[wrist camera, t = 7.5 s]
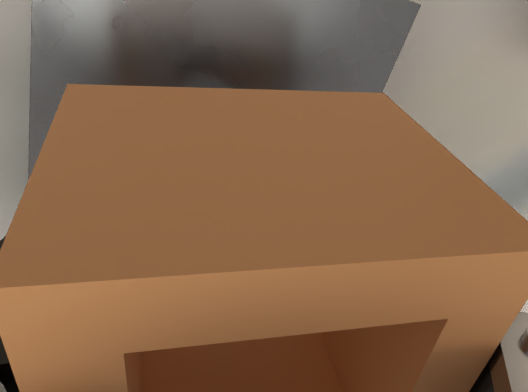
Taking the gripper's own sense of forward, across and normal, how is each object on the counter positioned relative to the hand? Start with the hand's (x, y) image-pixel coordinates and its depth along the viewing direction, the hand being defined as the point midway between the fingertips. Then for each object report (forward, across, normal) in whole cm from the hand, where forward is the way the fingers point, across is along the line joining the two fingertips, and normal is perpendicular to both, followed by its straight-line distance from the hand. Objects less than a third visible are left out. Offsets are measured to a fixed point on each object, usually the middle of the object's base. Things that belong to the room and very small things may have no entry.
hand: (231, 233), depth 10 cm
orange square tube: (+1, 0, 0) cm, 1 cm away
